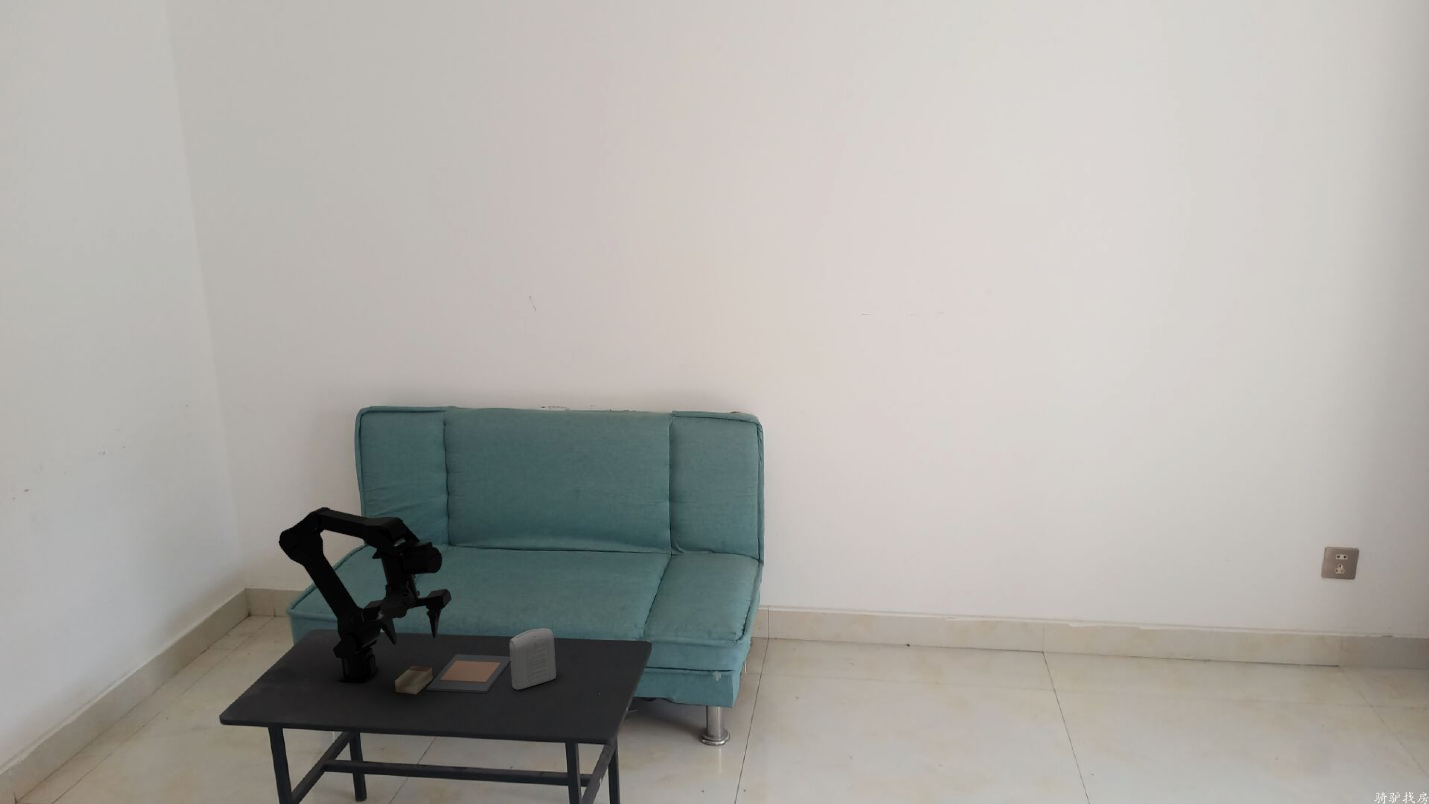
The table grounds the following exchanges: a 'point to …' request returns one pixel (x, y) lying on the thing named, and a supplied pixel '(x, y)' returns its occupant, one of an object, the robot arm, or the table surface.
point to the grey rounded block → (532, 658)
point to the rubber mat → (470, 673)
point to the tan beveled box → (413, 679)
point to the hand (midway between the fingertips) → (415, 640)
